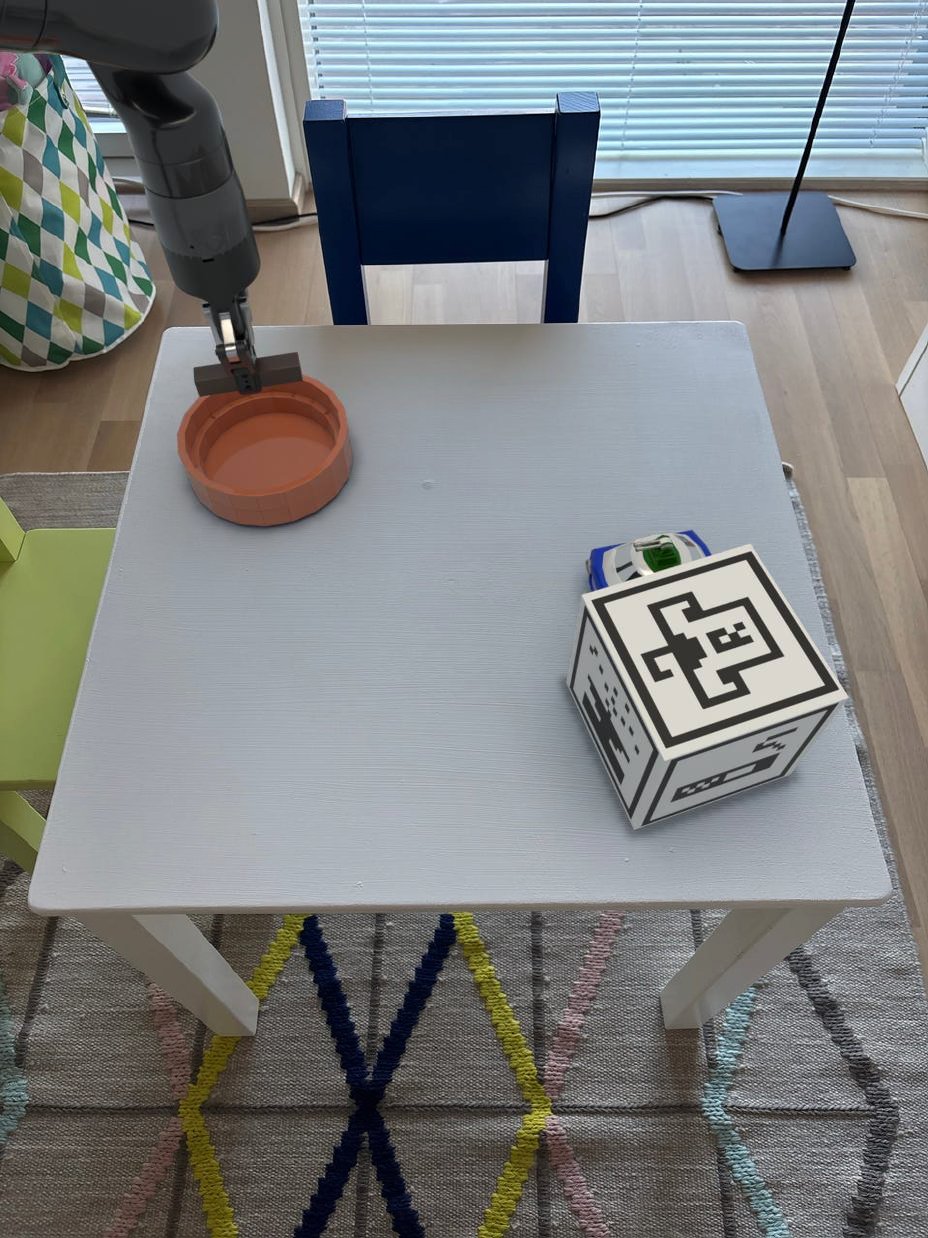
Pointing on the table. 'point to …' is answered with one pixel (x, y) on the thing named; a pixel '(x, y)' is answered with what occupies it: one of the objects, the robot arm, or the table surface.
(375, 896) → the table surface
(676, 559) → the toy car
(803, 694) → the block
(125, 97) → the robot arm
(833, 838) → the table surface
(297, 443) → the bowl
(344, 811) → the table surface
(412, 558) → the table surface
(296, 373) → the stick
